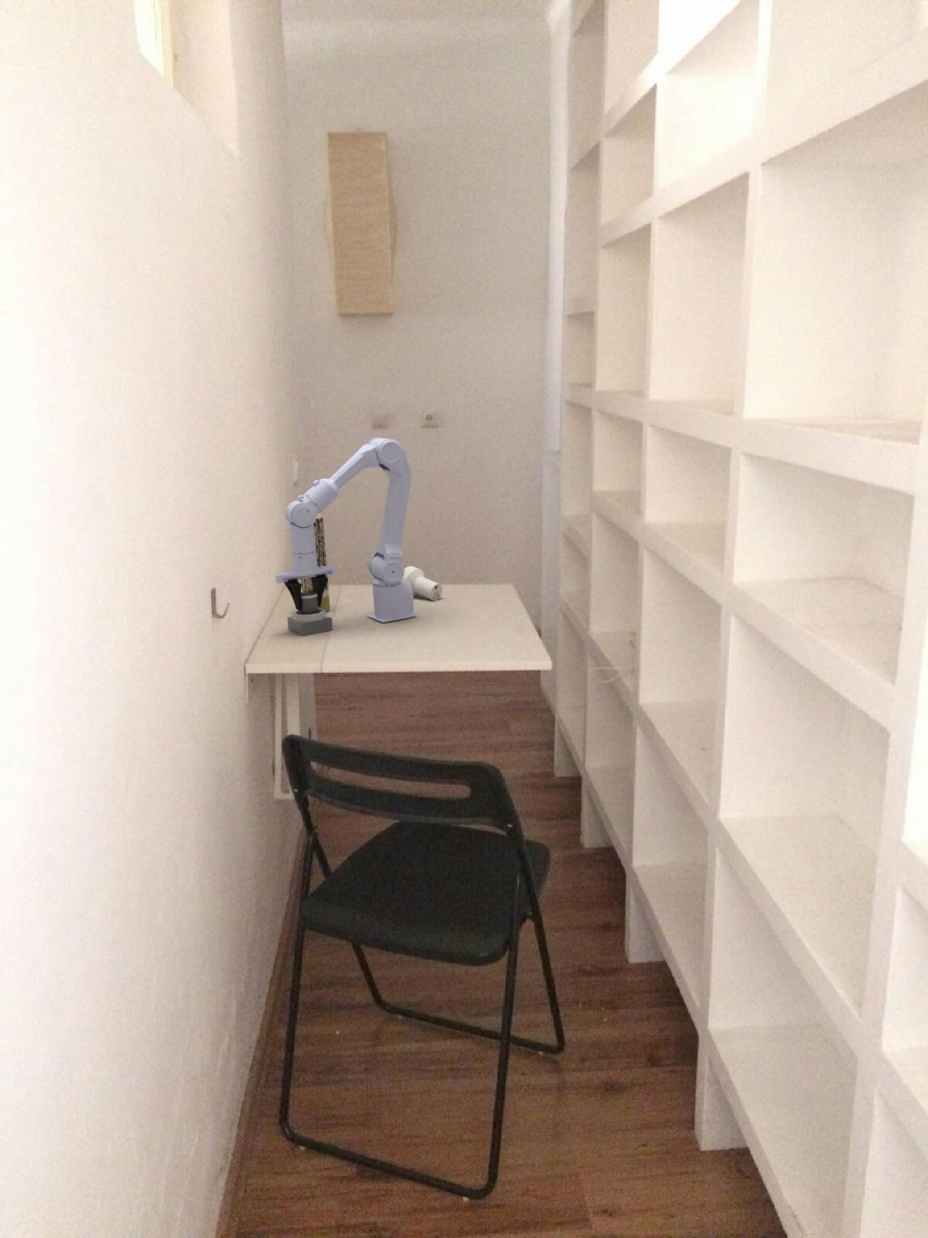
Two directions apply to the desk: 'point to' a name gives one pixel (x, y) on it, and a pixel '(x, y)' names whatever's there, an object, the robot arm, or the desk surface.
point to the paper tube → (319, 561)
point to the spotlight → (422, 583)
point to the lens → (309, 603)
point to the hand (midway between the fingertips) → (308, 607)
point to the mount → (309, 622)
